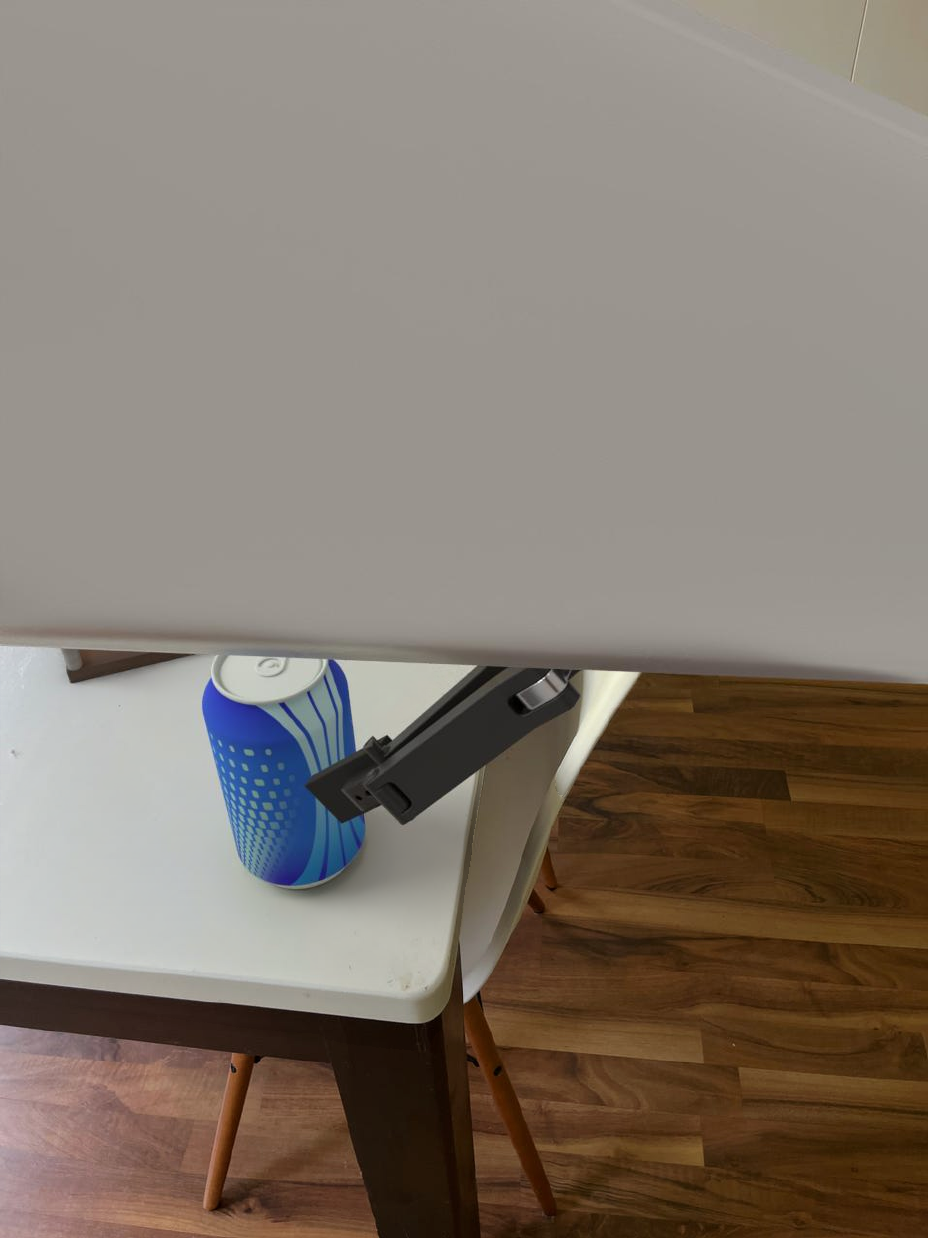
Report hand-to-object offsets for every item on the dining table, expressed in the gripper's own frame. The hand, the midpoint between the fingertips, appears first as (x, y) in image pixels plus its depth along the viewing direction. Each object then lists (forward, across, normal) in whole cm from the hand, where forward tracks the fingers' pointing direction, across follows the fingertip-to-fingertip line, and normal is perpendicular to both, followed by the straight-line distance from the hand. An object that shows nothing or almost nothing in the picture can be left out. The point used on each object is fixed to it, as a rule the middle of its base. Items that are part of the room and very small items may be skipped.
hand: (390, 713), depth 54 cm
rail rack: (+34, +16, +14) cm, 40 cm away
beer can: (+16, 0, -5) cm, 17 cm away
